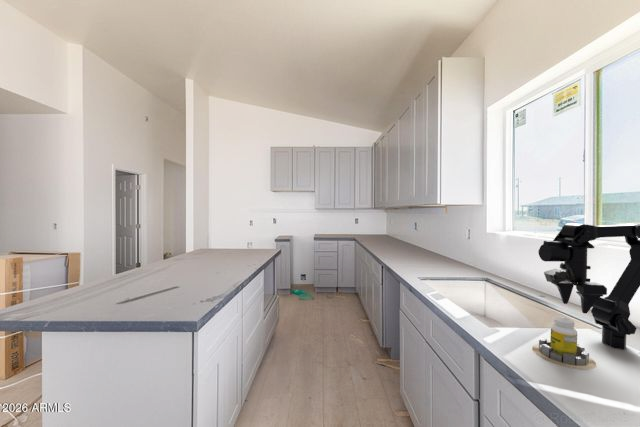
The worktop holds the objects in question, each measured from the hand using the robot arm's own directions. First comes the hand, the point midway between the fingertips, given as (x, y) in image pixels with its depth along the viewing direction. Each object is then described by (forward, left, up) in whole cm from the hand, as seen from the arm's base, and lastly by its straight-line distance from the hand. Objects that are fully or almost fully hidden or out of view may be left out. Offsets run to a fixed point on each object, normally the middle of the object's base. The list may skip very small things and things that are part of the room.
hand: (574, 308), depth 97 cm
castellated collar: (+12, -6, -12) cm, 18 cm away
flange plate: (+12, -6, -13) cm, 19 cm away
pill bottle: (+12, -6, -12) cm, 18 cm away
